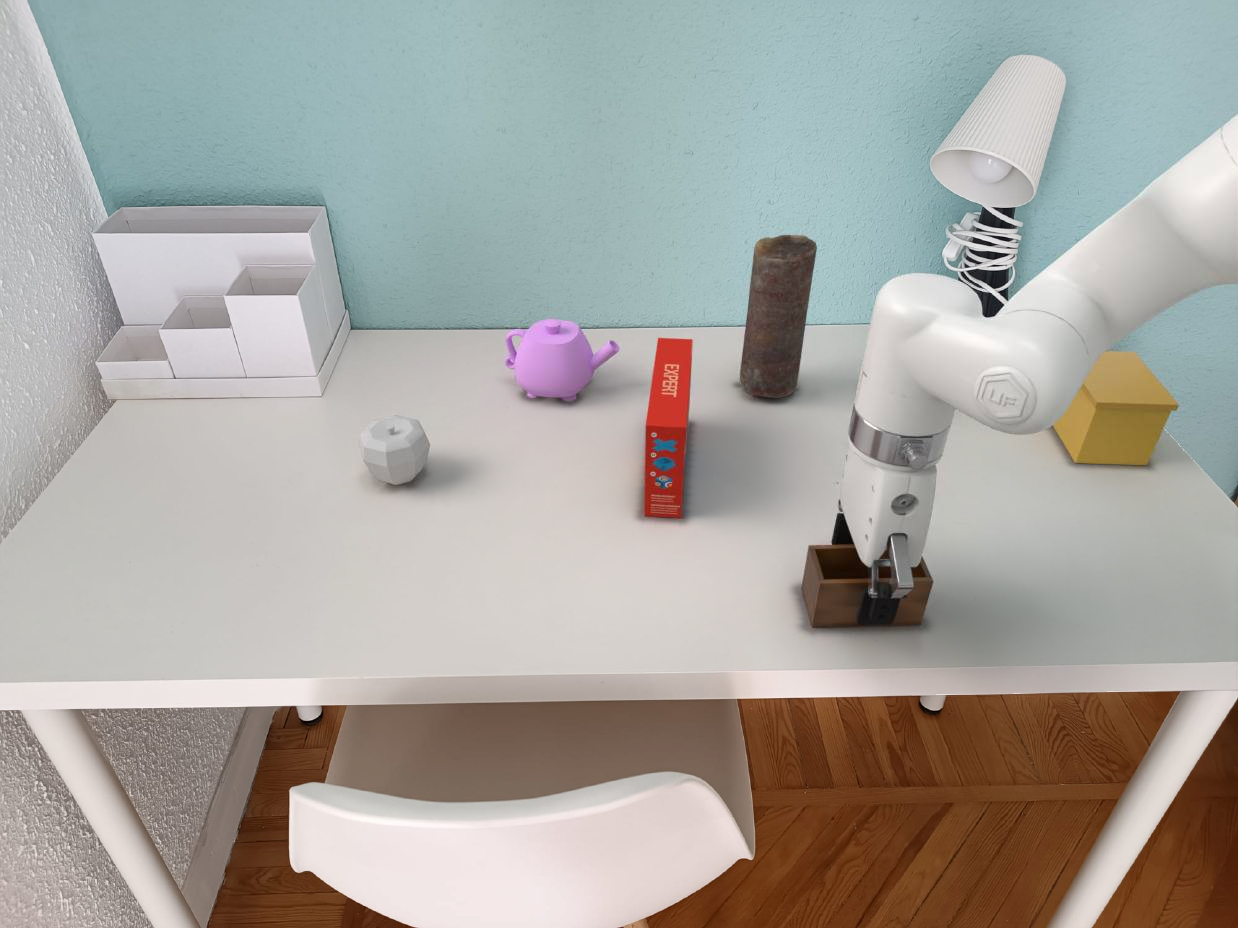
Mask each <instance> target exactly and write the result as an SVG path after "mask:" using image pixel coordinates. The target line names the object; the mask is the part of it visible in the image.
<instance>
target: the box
mask: <svg viewBox="0 0 1238 928" xmlns="http://www.w3.org/2000/svg"><path fill="white" fill-rule="evenodd" d="M1179 406H1180V404H1179V403H1178V401H1177V400H1176V399H1175V398H1174V397H1173V395H1171V393H1170V392H1169V391H1168V390H1167V388H1166V387H1165V386H1164V385H1163V384H1162V382H1160V380H1159V379H1158V378H1157V377H1156V376H1155V374H1154V373H1153V372H1152V371H1151V370H1150V368H1149V367H1148V366H1147V365H1146V363H1145V362H1144V361H1143V360H1142V359H1141V358H1140V356H1139V355H1138V354H1137V352H1136V351H1121V350H1120V351H1117V350H1116V351H1114V350H1111V351H1110V350H1107V351H1105V352H1104V353H1103V354H1102V355H1101V356H1100V357H1099V358H1098V360H1097V361H1096V363H1095V364H1094V366H1093V368H1092V369H1091V371H1090V373H1089V374H1088V376H1087V377H1086V379H1085V381H1084V383H1083V385H1082V387H1081V388H1080V390H1079V391H1078V393H1077V395H1076V396H1075V398H1074V400H1073V401H1072V403H1071V405H1070V406H1069V408H1068V409H1067V411H1066V412H1065V414H1064V415H1063V416H1062V417H1061V418H1060V419H1059V420H1058V421H1057V422H1056V423H1055V424H1053V425H1052V427H1053V430H1055V432H1056V433H1057V436H1058V437H1059V439H1060V440H1061V442H1062V444H1063V445H1064V447H1065V448H1066V450H1067V452H1068V454H1069V455H1070V457H1071V459H1072V460H1073V462H1074V463H1075V464H1089V465H1091V464H1092V465H1122V466H1123V465H1125V466H1148V465H1149V461H1151V458H1152V455H1153V453H1154V451H1155V449H1156V447H1157V444H1158V442H1159V439H1160V437H1161V435H1162V433H1163V431H1164V428H1165V426H1166V424H1167V422H1168V419H1169V417H1170V416H1171V413H1172V411H1173V412H1176V411H1177V410H1178V408H1179Z"/></svg>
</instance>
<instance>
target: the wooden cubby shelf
mask: <svg viewBox="0 0 1238 928" xmlns="http://www.w3.org/2000/svg"><path fill="white" fill-rule="evenodd" d="M879 559H889V554H888V550H885V552H884V553H883V554H882V556H881V557H880V558H879ZM911 571H912V577H913V589H912V590H911V591H910V592H909V593H908V594H907V597H906V598H901V599H900V603H899V606H898V610H897V613H896V617H895V620H894V622H893V623H892V624H890V625H859V624H858V623H857V620H856V616H857V612H858V608H859V604H860V600H861V596H862V592H863V588H868V566H866V565H865V564H864V563H863V562H862V561H861V559H860V557H859V555H858V552H857V549H856V547H855V544H850V545H832V544H812V545H811V544H810V545H808V546H807V551H806V559H805V563H804V570H803V575H802V583H801V589H800V590H801V593H802V596H803V600H804V604H805V607H806V612H807V615H808V619H809V622H810V627H811V628H813V629H815V628H816V629H819V628H854V627H857V628H858V627H859V628H860V627H861V628H862V627H864V628H865V627H899V626H901V627H902V626H904V627H905V626H908V627H909V626H921V625H922V623H923V619H924V616H925V613H926V608H927V606H928V601H929V599H930V594H931V591H932V588H933V584H934V579H933V577H932V575H931V573H930V569H929V568H928V565H927V564H926V561H925V559H924V556H923V555H922V558H921V561H920V563H919V565H918V566H917V567H911ZM891 575H892V574H891V567H878V583H890V580H891Z"/></svg>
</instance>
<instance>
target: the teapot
mask: <svg viewBox="0 0 1238 928" xmlns="http://www.w3.org/2000/svg"><path fill="white" fill-rule="evenodd" d="M506 334H507V335H506V336H505V346H506V349H507V351H508V354H509V355H507V356H506V357H505V360H504V364H505V366H506V367H507V368H508V369H510V370H514V378H515V380H516V382H517V384H518V386H520V387H521V388H522V389H523V390H524V391H526V392H527V394H526V396H527V397H528V398H532V399H536V398H537V399H538V398H541V397H544V398H561V400H562V401H564V402H573V401H575V400H576V399H577V394H578V393H580V392H581V391H582V390H584V388H586V386H588V384H589V383H590V381H591V380H592V379H593V377H594V374H595V371H596V370H597V369H599V368H600V367H601V366H603V365H604V364H605V363H606V362H607V361H608V360H610V359H611V358H612V357H614V356H615V355H616V354H618V353H619V352H620V350H621V348H620V347H619V344H617V342H615V341H614V340H609V341H608V342H607V343H606V344H604V345H603V346H602V347H601V348H600V349H599V350H597V351H596V352H595V353H594V352H593V349H592V346H591V344H590V342H589V340H588V338H587V336H586V335H585V333H584V332H583V330H582V328H581V327H580V326H579V325H578V324H577V323H576V322H573V321H571V320H564V319H558V318H549V319H542V320H539V321H536V322H534V323H533V324H532V325H531V326H530V327H528V329H527V330H525V329H522V328H515V329H512V330H510V331H509V332H508V333H506ZM515 336H518V337H522V340H521V341H520V343H519V346H518V348H517V350H516V348H515V346H514V343H513V337H515Z"/></svg>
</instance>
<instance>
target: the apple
mask: <svg viewBox="0 0 1238 928" xmlns="http://www.w3.org/2000/svg"><path fill="white" fill-rule="evenodd" d="M357 447H358V450H359V452H360V455H361V459H362V462H363V464H364V465H365V466H366V468H367V470H368V471H369V473H370V475H372V476H373V477H374V478H376V479H377V480H378V481H380V482H383V483H386V484H390V485H395V486H399V485H403V484H406V483H410V482H411V481H413V480H414V479H415V478H416V477H417V475H419V473H420V472H421V471H422V470H423V468H424V466H425V464H426V463H427V461H428V457H429V452H430V449H431V448H430V447H431V442H430V440H429V439H428V436H427V434H426V432H425V430H424V428H423V426H422V424H421V422H420V420H419V419H415V418H411V417H406V416H401V415H397V414H396V415H392V416H387V417H383V418H379V419H375V420H373V421H372V422H371V423H370V424H368V425H367V427H365V428H364V429H363V431H361V432H359V435H358V443H357Z"/></svg>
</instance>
